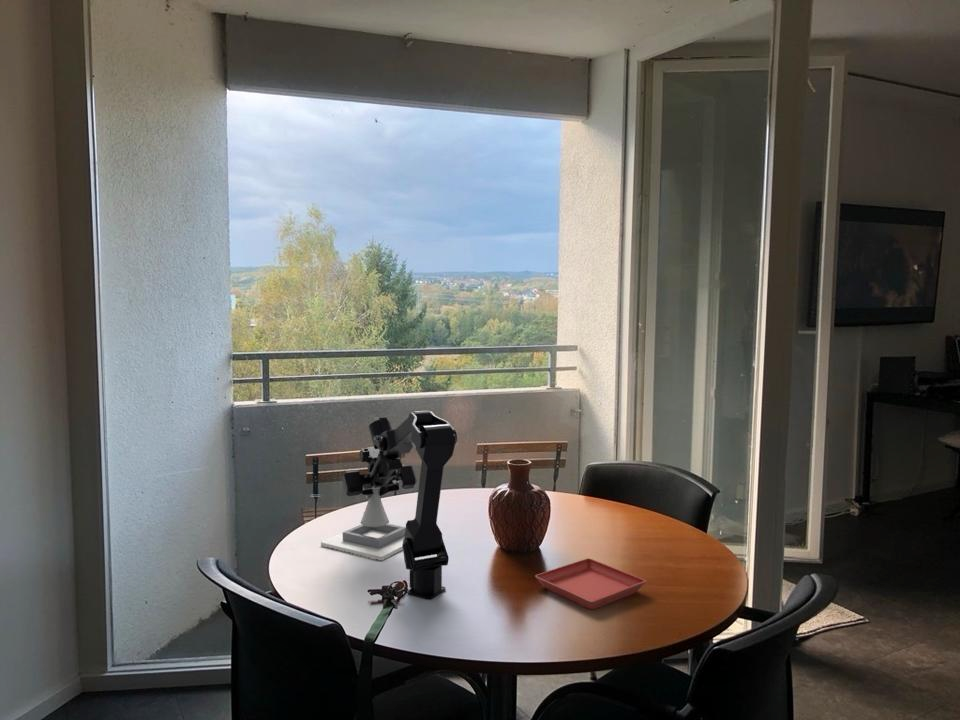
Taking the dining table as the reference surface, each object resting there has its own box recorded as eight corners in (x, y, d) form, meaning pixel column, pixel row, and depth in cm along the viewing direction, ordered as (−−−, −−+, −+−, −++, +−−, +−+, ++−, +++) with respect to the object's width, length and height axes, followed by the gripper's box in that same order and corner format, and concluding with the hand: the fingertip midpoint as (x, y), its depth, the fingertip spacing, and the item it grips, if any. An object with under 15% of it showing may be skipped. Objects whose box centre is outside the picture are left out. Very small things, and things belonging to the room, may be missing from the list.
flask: (373, 530, 188) (373, 492, 187) (355, 524, 192) (355, 487, 191) (394, 523, 193) (393, 486, 192) (375, 517, 198) (375, 482, 197)
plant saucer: (533, 588, 165) (533, 574, 165) (588, 569, 176) (588, 556, 176) (591, 617, 151) (591, 601, 151) (647, 594, 162) (647, 580, 162)
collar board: (426, 537, 197) (426, 525, 197) (381, 560, 180) (381, 548, 180) (369, 524, 207) (369, 513, 207) (320, 545, 190) (320, 534, 190)
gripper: (412, 435, 191) (397, 467, 202) (343, 441, 183) (332, 474, 194) (423, 470, 185) (408, 501, 196) (353, 479, 177) (341, 511, 187)
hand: (372, 496), depth 193 cm, fingers closed on flask, 3 cm apart
